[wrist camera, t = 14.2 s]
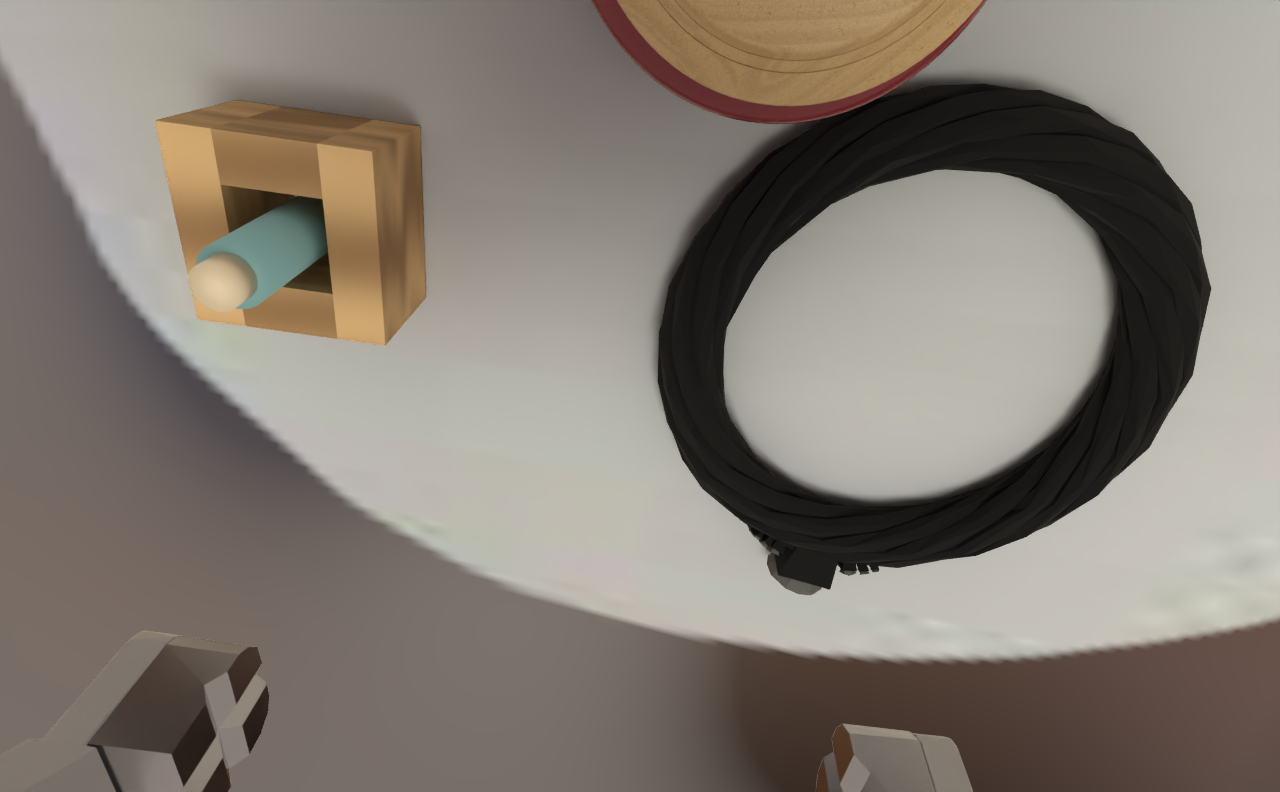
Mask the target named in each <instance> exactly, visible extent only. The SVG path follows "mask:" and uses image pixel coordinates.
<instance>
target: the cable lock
mask: <svg viewBox="0 0 1280 792" xmlns="http://www.w3.org/2000/svg"><path fill="white" fill-rule="evenodd" d="M943 169H948V170H964V171H980V172H996V173H1002V174H1006V175H1010V176H1014V177H1018V178H1021V179H1023V180H1026V181H1028V182H1030V183H1032V184H1034V185H1036V186H1039V187H1041V188H1043V189H1045V190H1047V191H1050V192H1052V193H1054V194H1056V195H1058V196H1059V197H1060V198H1061V199H1062V200H1063V201H1064V202H1065V203H1067V204H1068V205H1069V206H1070V207H1071V208H1072V209H1073V210H1074V211H1075V212H1076V213H1077V214H1078V215H1080V216H1081V217H1082V218H1083V219H1084V220H1085V221H1086V222H1087V223H1088V224H1089V225H1090V226H1091V227H1093V228H1094V229H1095V230H1096V231H1097V232H1098V233H1099V236H1100V238H1101V240H1102V243H1103V245H1104V248H1105V250H1106V252H1107V255H1108V257H1109V260H1110V262H1111V264H1112V267H1113V269H1114V271H1115V274H1116V276H1117V279H1118V294H1119V319H1118V329H1117V339H1116V341H1115V344H1114V347H1113V350H1112V353H1111V356H1110V359H1109V361H1108V364H1107V367H1106V370H1105V372H1104V374H1103V376H1102V378H1101V380H1100V382H1099V384H1098V387H1097V389H1096V391H1095V392H1094V394H1093V395H1092V396H1091V398H1090V399H1089V400H1088V402H1087V403H1086V405H1085V406H1084V407H1083V409H1082V410H1081V411H1080V413H1079V414H1078V415H1077V417H1076V418H1075V419H1074V421H1073V422H1072V423H1071V424H1070V425H1069V426H1068V427H1067V429H1066V430H1065V431H1064V432H1063V433H1062V434H1061V435H1060V436H1059V437H1058V438H1057V440H1056V441H1055V442H1054V443H1053V444H1052V445H1051V446H1050V447H1049V448H1048V449H1047V450H1045V451H1043V452H1042V453H1040V454H1038V455H1037V456H1035V457H1034V458H1032V459H1031V460H1029V461H1028V462H1026V463H1025V464H1023V465H1022V466H1020V467H1019V468H1017V469H1016V470H1014V471H1013V472H1011V473H1010V474H1008V475H1007V476H1005V477H1004V478H1002V479H1001V480H999V481H998V482H996V483H994V484H992V485H991V486H989V487H985V488H982V489H979V490H975V491H972V492H969V493H966V494H963V495H960V496H957V497H953V498H950V499H947V500H944V501H941V502H937V503H932V504H928V505H923V506H909V507H886V508H874V507H855V506H844V505H840V504H836V503H833V502H831V501H828V500H825V499H823V498H820V497H818V496H815V495H812V494H810V493H807V492H805V491H802V490H800V489H798V488H796V487H795V486H793V485H791V484H789V483H787V482H786V481H784V480H782V479H780V478H778V477H777V476H775V475H773V474H772V473H771V472H770V471H769V470H768V469H767V468H766V467H765V466H764V465H763V464H762V463H761V462H760V461H759V460H758V459H757V458H756V457H755V456H754V454H753V453H752V451H751V450H750V448H749V447H748V445H747V444H746V442H745V441H744V439H743V438H742V436H741V435H740V433H739V432H738V430H737V429H736V427H735V426H734V425H733V423H732V422H731V420H730V417H729V414H728V411H727V409H726V406H725V394H724V376H723V362H724V343H725V336H726V329H727V326H728V324H729V322H730V320H731V319H732V317H733V315H734V313H735V311H736V310H737V308H738V306H739V304H740V302H741V301H742V299H743V297H744V295H745V293H746V291H747V290H748V288H749V286H750V284H751V282H752V281H753V279H754V277H755V275H756V274H757V272H758V271H759V270H760V268H761V267H762V265H763V264H764V262H765V261H766V260H767V258H768V257H769V255H770V254H771V253H772V252H773V251H774V250H775V249H777V248H778V247H779V246H780V245H781V244H783V243H784V242H785V241H786V240H788V239H789V238H790V237H791V236H792V235H794V234H795V233H796V232H797V231H799V230H800V229H801V228H802V227H804V226H805V225H806V224H807V223H808V222H810V221H811V220H812V219H813V218H815V217H816V216H817V215H818V214H819V213H821V212H822V211H823V210H824V209H826V208H827V207H828V206H829V205H831V204H833V203H835V202H837V201H839V200H841V199H843V198H845V197H847V196H850V195H852V194H854V193H856V192H858V191H860V190H862V189H864V188H867V187H869V186H873V185H877V184H881V183H885V182H889V181H893V180H897V179H901V178H905V177H909V176H913V175H917V174H921V173H925V172H929V171H933V170H943ZM1210 292H1211V286H1210V282H1209V278H1208V274H1207V271H1206V267H1205V263H1204V259H1203V255H1202V246H1201V239H1200V235H1199V231H1198V227H1197V223H1196V219H1195V215H1194V210H1193V206H1192V203H1191V202H1190V201H1189V200H1188V198H1187V197H1186V196H1185V195H1184V193H1183V192H1182V191H1181V190H1180V189H1179V187H1178V186H1177V185H1176V184H1175V182H1174V181H1173V180H1172V179H1171V177H1170V176H1169V175H1168V174H1167V173H1166V172H1165V170H1164V168H1163V166H1162V165H1161V163H1160V161H1159V160H1158V159H1157V158H1156V157H1155V156H1154V155H1153V154H1152V152H1151V151H1150V150H1149V149H1148V148H1147V147H1146V146H1145V145H1144V144H1143V143H1142V142H1141V141H1140V140H1139V139H1138V137H1137V136H1136V135H1135V134H1134V133H1133V132H1130V131H1128V130H1125V129H1123V128H1121V127H1118V126H1116V125H1114V124H1111V123H1110V122H1109V121H1107V120H1106V119H1105V118H1103V117H1102V116H1100V115H1099V114H1098V113H1096V112H1095V111H1093V110H1092V109H1091V108H1089V107H1088V106H1085V105H1082V104H1079V103H1076V102H1073V101H1070V100H1067V99H1064V98H1062V97H1059V96H1056V95H1053V94H1050V93H1047V92H1044V91H1041V90H1019V89H1013V88H1007V87H1001V86H995V85H989V84H967V85H947V86H930V87H927V88H924V89H921V90H918V91H915V92H911V93H905V94H900V95H894V96H889V97H884V98H878V99H875V100H873V101H871V102H869V103H867V104H865V105H863V106H860V107H858V108H855V109H853V110H850V111H848V112H844V113H841V114H838V115H835V116H831V117H828V118H825V119H823V120H821V121H820V122H819V123H817V124H816V125H815V126H813V127H812V128H811V129H810V130H808V131H807V132H806V133H804V134H803V135H802V136H800V137H798V138H796V139H795V140H793V141H791V142H789V143H788V144H786V145H784V146H782V147H781V148H779V149H777V150H775V151H773V152H772V153H770V154H769V155H768V156H767V157H766V158H765V159H764V160H763V161H762V162H761V163H760V164H759V165H758V166H757V167H756V168H754V169H753V170H752V171H751V172H750V173H749V174H748V175H747V176H746V177H745V178H744V179H743V180H742V181H741V182H740V183H739V184H738V185H737V186H736V187H735V188H734V189H733V190H732V191H731V192H730V193H729V194H728V195H727V196H726V197H725V199H724V200H723V202H722V203H721V205H720V206H719V208H718V209H717V210H716V212H715V213H714V214H713V216H712V217H711V218H710V219H709V220H708V222H707V223H706V224H705V225H704V227H703V228H702V229H701V230H700V232H699V233H698V234H697V235H696V236H695V238H694V240H693V242H692V244H691V245H690V247H689V249H688V251H687V253H686V255H685V257H684V259H683V261H682V263H681V265H680V266H679V268H678V270H677V272H676V274H675V276H674V278H673V280H672V282H671V284H670V285H669V289H668V294H667V299H666V304H665V310H664V315H663V320H662V325H661V328H660V331H659V358H658V385H659V389H660V393H661V398H662V402H663V406H664V411H665V415H666V419H667V423H668V425H669V427H670V429H671V431H672V433H673V435H674V438H675V441H676V443H677V446H678V449H679V452H680V454H681V457H682V460H683V461H684V463H685V464H686V465H687V467H688V468H689V470H690V471H691V473H692V474H693V476H694V477H695V479H696V480H697V481H698V483H699V484H700V486H701V487H702V489H704V490H705V491H706V492H707V493H708V494H710V495H711V496H712V497H713V498H714V499H716V500H717V501H718V502H719V503H720V504H722V505H723V506H724V507H725V508H726V509H728V510H729V511H730V512H731V513H733V514H734V515H735V516H736V517H738V518H739V519H740V520H741V521H742V522H744V523H745V524H747V525H748V527H749V531H750V532H751V533H752V535H753V536H754V537H755V538H757V539H758V540H759V542H760V543H761V544H762V545H763V546H764V547H765V548H766V549H768V550H769V551H770V552H772V554H770V555H768V560H767V566H768V568H769V571H770V573H771V575H772V576H773V577H774V578H775V579H776V580H777V581H778V582H779V583H780V584H781V585H782V586H784V587H785V588H786V589H788V590H791V591H793V592H795V593H797V594H803V595H812V594H814V593H816V592H817V591H819V590H820V589H821V588H822V587H823V588H826V589H830V588H831V584H832V581H833V577H834V574H835V570H836V566H837V565H838V566H839V567H840V568H841V570H840V571H839V572H841V573H843V574H845V575H848V576H849V575H853V574H855V573H856V572H855V571H857V570H859V572H860V575H861V574H869V572H868V571H869V569H868V567H867V565H869V566H870V567H871V568H870V569H871V570H872V572H878V571H879V568H878V566H883V567H894V568H900V567H906V566H911V565H917V564H923V563H928V562H934V561H939V560H944V559H953V558H961V557H970V556H977V555H979V554H982V553H985V552H987V551H990V550H993V549H995V548H998V547H1001V546H1003V545H1006V544H1009V543H1011V542H1014V541H1017V540H1019V539H1022V538H1025V537H1027V536H1028V535H1030V534H1032V533H1033V532H1035V531H1037V530H1039V529H1042V528H1044V527H1047V526H1049V525H1051V524H1052V523H1054V522H1056V521H1057V520H1059V519H1061V518H1062V517H1064V516H1065V515H1067V514H1069V513H1070V512H1072V511H1073V510H1075V509H1077V508H1078V507H1080V506H1082V505H1083V504H1085V503H1086V502H1088V501H1090V500H1091V499H1093V498H1094V497H1096V496H1098V495H1099V493H1100V492H1101V491H1102V490H1103V489H1104V488H1105V487H1106V486H1107V485H1108V484H1109V483H1110V481H1111V480H1112V479H1114V478H1115V477H1116V476H1118V475H1119V474H1120V473H1121V472H1122V471H1124V470H1125V469H1126V468H1127V467H1128V466H1129V465H1130V464H1131V463H1133V462H1134V461H1135V460H1136V459H1137V458H1138V457H1139V456H1140V455H1142V454H1143V453H1144V452H1145V451H1146V450H1147V449H1148V448H1149V447H1150V445H1151V444H1152V442H1153V440H1154V438H1155V436H1156V435H1157V433H1158V431H1159V429H1160V427H1161V426H1162V424H1163V422H1164V420H1165V418H1166V417H1167V415H1168V413H1169V412H1170V410H1171V409H1172V407H1173V406H1174V404H1175V402H1176V401H1177V399H1178V398H1179V396H1180V394H1181V393H1182V391H1183V390H1184V388H1185V387H1186V385H1187V383H1188V382H1189V380H1190V379H1191V377H1192V375H1193V371H1194V366H1195V361H1196V355H1197V350H1198V345H1199V340H1200V335H1201V331H1202V327H1203V323H1204V318H1205V314H1206V310H1207V305H1208V301H1209V296H1210ZM856 564H857V567H858V569H856Z"/></svg>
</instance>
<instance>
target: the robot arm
mask: <svg viewBox="0 0 1280 792" xmlns="http://www.w3.org/2000/svg"><path fill="white" fill-rule="evenodd" d="M261 664H262V661H261V657H260V654H259V651H258V648H257V647H252V646H246V645H239V644H233V643H226V642H219V641H213V640H206V639H199V638H192V637H186V636H182V635H174V634H167V633H160V632H152V631H144V630H143V631H141V632H140V633H138V634H136V635H135V636H133V637H132V638H130V639H129V640H127V641H126V643H125V644H124V645H123V646H122V647H121V648H120V650H119V651H118V652H117V653H116V654H115V655H114V656H113V658H112V659H111V660H110V661H109V662H108V663H107V665H106V666H105V667H104V668H103V669H102V670H101V672H100V673H99V674H98V675H97V676H96V677H95V678H94V680H93V681H92V682H91V683H90V684H89V685H88V686H87V688H86V689H85V690H84V691H83V692H82V693H81V695H80V696H79V697H78V698H77V699H76V700H75V701H74V703H73V704H72V705H71V706H70V707H69V708H68V710H67V711H66V712H65V713H64V714H63V715H62V716H61V718H60V719H59V720H58V721H57V722H56V723H55V725H54V726H53V727H52V728H51V729H50V730H49V732H48V733H47V734H46V735H45V736H44V737H43V738H42V739H31V738H29V739H28V740H26V741H24V742H22V743H21V744H19V745H17V746H15V747H13V748H12V749H10V750H8V751H6V752H4V753H3V754H1V755H0V792H228V791H229V789H230V787H231V783H230V774H229V768H231V767H232V766H233V765H235V764H236V763H238V762H239V761H240V760H242V759H243V758H245V757H246V756H248V755H249V754H250V753H251V751H252V749H253V747H254V745H255V743H256V741H257V740H258V738H259V736H260V734H261V732H262V729H263V726H264V723H265V720H266V717H267V714H268V707H269V692H268V687H267V684H266V683H265V682H264V681H263V680H262V679H261V678H260V677H259V676H258V675H256V672H257V670H258V669H259V667H260V666H261ZM832 743H833V749H834V752H833V753H831V754H829V755H828V756H826V757H824V758H823V760H822V763H821V766H820V769H819V771H818V777H817V785H816V792H973V790H972V787H971V784H970V781H969V779H968V776H967V773H966V771H965V768H964V765H963V762H962V759H961V757H960V754H959V751H958V748H957V746H956V745H955V744H954V742H953V741H952V740H951V739H950V738H947V737H941V736H932V735H924V734H914V733H910V732H909V731H900V730H892V729H883V728H874V727H866V726H858V725H849V724H841V725H840V726H838V727H837V728H836V730H835V732H834V735H833V737H832Z"/></svg>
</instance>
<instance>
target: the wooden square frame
mask: <svg viewBox="0 0 1280 792" xmlns="http://www.w3.org/2000/svg"><path fill="white" fill-rule="evenodd" d="M155 124H156V129H157V134H158V138H159V143H160V148H161V152H162V157H163V162H164V166H165V171H166V175H167V180H168V185H169V189H170V194H171V199H172V203H173V208H174V212H175V217H176V222H177V226H178V231H179V236H180V240H181V245H182V250H183V254H184V259H185V263H186V268H187V273H188V275H189V272H190V270H191V269H192V268H193V267H194V266H195V265H196V261H197V257H198V255H199V253H200V251H201V250H202V249H203V248H204V247H206V246H207V245H209V244H211V243H213V242H214V241H216V240H218V239H220V238H222V237H224V236H225V235H227V234H229V233H231V232H233V231H234V230H236V229H238V228H240V227H242V226H243V225H245V224H247V223H249V222H251V221H253V220H254V219H256V218H258V217H260V216H262V215H263V214H265V213H267V212H269V211H271V210H272V209H274V208H276V207H278V206H280V205H282V204H283V203H285V202H287V201H289V200H291V199H292V198H294V197H295V196H294V195H297V196H305V197H312V198H319V199H323V208H324V217H325V226H326V236H327V245H328V252H327V253H326V254H325V255H323V256H322V257H321V258H320V259H318V260H317V261H316V262H314V263H313V264H312V265H310V266H309V267H308V268H306V269H305V270H304V271H302V272H301V273H300V274H298V275H297V276H296V277H294V278H293V279H292V280H291V281H289V282H288V283H287V284H285V285H284V286H283V287H281V288H280V289H279V290H277V291H276V292H275V293H273V294H272V295H271V296H269V297H268V298H267V299H265V300H264V301H263V302H262V303H260V304H259V305H257V306H255V307H253V308H249V309H236V308H235V309H233V310H231V311H228V312H218V311H214V310H211V309H209V308H207V307H205V306H204V305H203V304H201V303H200V302H199V301H198V300H197V299H196V298H195V297H194V295H193V294H192V296H193V300H194V305H195V310H196V314H197V319H199V320H207V321H214V322H221V323H228V324H235V325H242V326H250V327H257V328H264V329H271V330H278V331H285V332H293V333H300V334H307V335H314V336H321V337H328V338H336V339H343V340H350V341H357V342H364V343H371V344H379V345H386V344H387V343H388V342H389V341H390V339H391V338H392V337H393V336H394V335H395V333H396V332H397V331H398V330H399V329H400V328H401V326H402V325H403V324H404V323H405V322H406V320H407V319H408V318H409V317H410V316H411V315H412V313H413V312H414V311H415V310H416V309H417V308H418V306H419V305H420V304H421V303H422V302H423V300H424V299H425V298H426V280H425V250H424V220H423V190H422V160H421V130H420V126H414V125H407V124H400V123H393V122H386V121H379V120H372V119H365V118H358V117H351V116H344V115H337V114H330V113H323V112H316V111H309V110H302V109H295V108H288V107H281V106H274V105H267V104H260V103H253V102H246V101H239V100H234V101H230V102H226V103H222V104H218V105H214V106H210V107H206V108H202V109H198V110H194V111H190V112H186V113H182V114H178V115H174V116H170V117H166V118H162V119H158V120H155Z"/></svg>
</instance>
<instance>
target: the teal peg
mask: <svg viewBox="0 0 1280 792" xmlns="http://www.w3.org/2000/svg"><path fill="white" fill-rule="evenodd" d="M327 252H328V245H327V236H326V226H325V217H324V208H323V199H319V198H312V197H305V196H296V197H294V198H292V199H291V200H289V201H287V202H285V203H283V204H282V205H280V206H278V207H276V208H274V209H272V210H271V211H269V212H267V213H265V214H263V215H262V216H260V217H258V218H256V219H254V220H253V221H251V222H249V223H247V224H245V225H243V226H242V227H240V228H238V229H236V230H234V231H233V232H231V233H229V234H227V235H225V236H224V237H222V238H220V239H218V240H216V241H214V242H213V243H211V244H209V245H207V246H206V247H204V248H203V249H202V250H201V251H200V253H199V255H198V257H197V261H196V265H195V266H194V267H193V268H192V269H191V270H190V272H189V275H188V284H189V288H190V290H191V292H192V294H193V295H194V297H195V298H196V299H197V300H198V301H199V302H200V303H201V304H203V305H204V306H205V307H207V308H209V309H211V310H214V311H218V312H228V311H231V310H233V309H235V308H236V309H249V308H253V307H255V306H257V305H259V304H260V303H262V302H263V301H264V300H265V299H267V298H268V297H269V296H271V295H272V294H273V293H275V292H276V291H277V290H279V289H280V288H281V287H283V286H284V285H285V284H287V283H288V282H289V281H291V280H292V279H293V278H294V277H296V276H297V275H298V274H300V273H301V272H302V271H304V270H305V269H306V268H308V267H309V266H310V265H312V264H313V263H314V262H316V261H317V260H318V259H320V258H321V257H322V256H323V255H325V254H326V253H327Z"/></svg>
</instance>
